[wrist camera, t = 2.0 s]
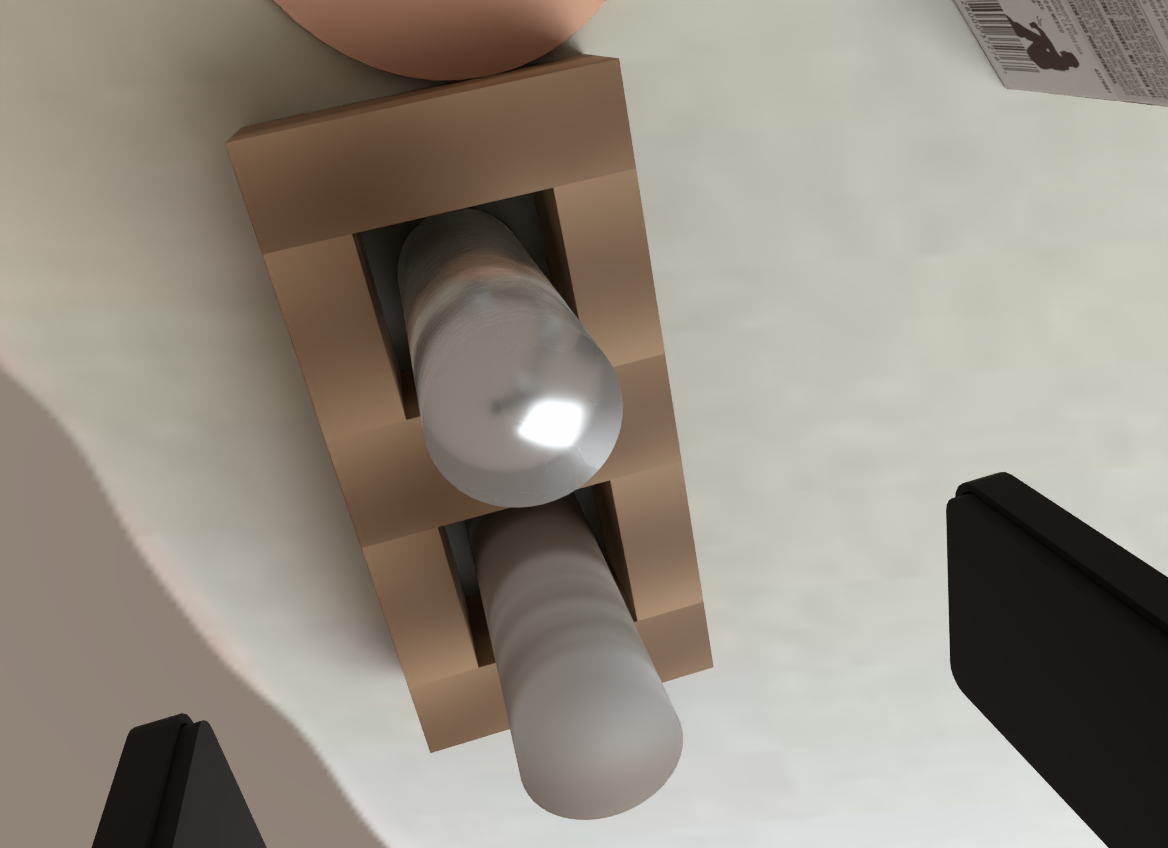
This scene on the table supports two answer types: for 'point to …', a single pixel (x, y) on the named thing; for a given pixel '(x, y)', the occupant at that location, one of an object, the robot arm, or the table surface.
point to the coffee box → (1076, 46)
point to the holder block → (406, 470)
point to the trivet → (442, 32)
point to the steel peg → (502, 365)
